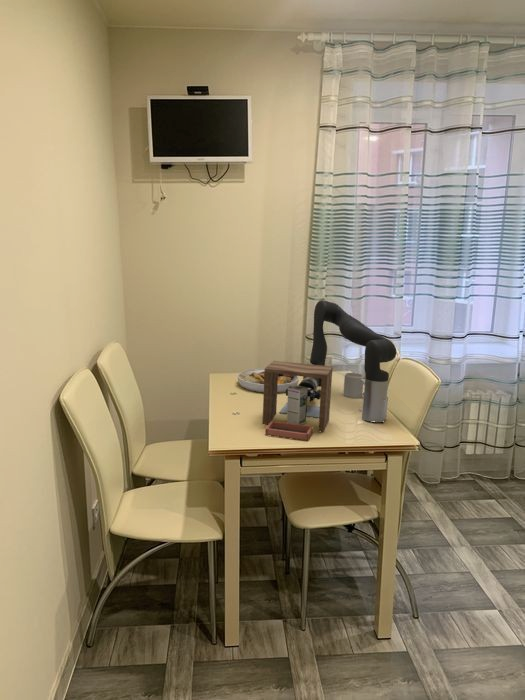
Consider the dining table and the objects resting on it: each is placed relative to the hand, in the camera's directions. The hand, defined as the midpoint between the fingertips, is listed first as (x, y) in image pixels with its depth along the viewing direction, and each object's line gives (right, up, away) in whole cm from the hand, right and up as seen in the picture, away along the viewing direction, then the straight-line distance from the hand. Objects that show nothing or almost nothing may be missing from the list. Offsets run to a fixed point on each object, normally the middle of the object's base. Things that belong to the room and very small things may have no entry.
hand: (300, 397), depth 210 cm
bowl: (-13, +1, +47) cm, 49 cm away
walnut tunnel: (-2, -9, -4) cm, 10 cm away
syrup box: (-2, -10, -4) cm, 10 cm away
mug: (+28, -3, +35) cm, 45 cm away
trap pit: (-5, -12, -16) cm, 21 cm away
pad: (+2, -7, +11) cm, 13 cm away
